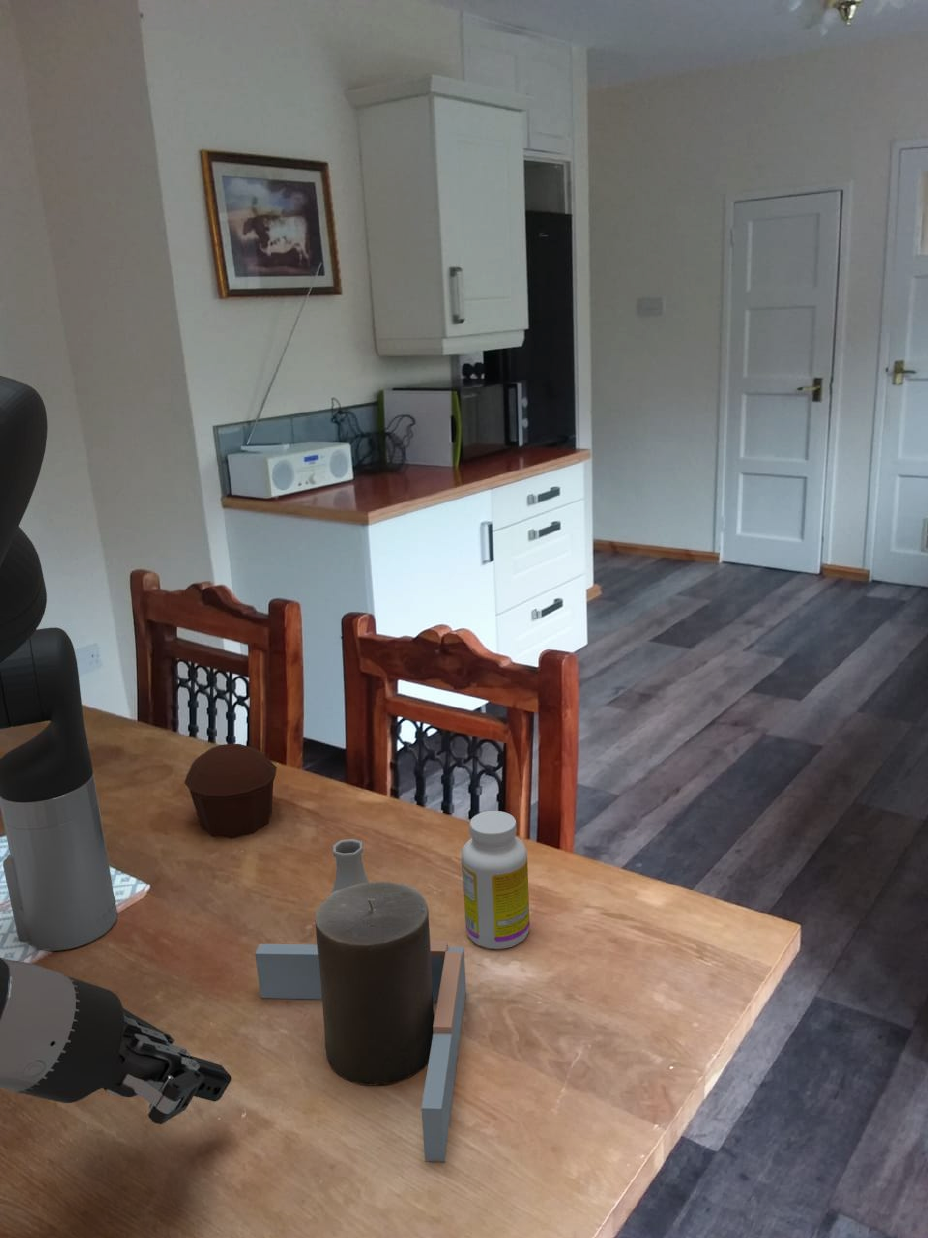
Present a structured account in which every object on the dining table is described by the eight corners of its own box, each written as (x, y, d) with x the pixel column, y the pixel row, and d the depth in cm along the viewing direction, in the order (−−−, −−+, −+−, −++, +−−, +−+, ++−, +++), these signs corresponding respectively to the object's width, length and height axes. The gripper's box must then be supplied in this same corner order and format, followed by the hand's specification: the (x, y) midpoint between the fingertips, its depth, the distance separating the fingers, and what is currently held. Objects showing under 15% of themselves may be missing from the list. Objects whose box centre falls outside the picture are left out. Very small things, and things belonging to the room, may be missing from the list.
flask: (378, 954, 99) (371, 868, 96) (310, 948, 101) (301, 862, 98) (397, 913, 106) (391, 830, 103) (333, 908, 108) (325, 826, 105)
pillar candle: (391, 1103, 80) (381, 946, 76) (302, 1058, 86) (288, 908, 81) (457, 1033, 88) (451, 886, 84) (372, 995, 93) (363, 855, 89)
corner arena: (195, 1152, 76) (186, 1094, 75) (265, 988, 95) (259, 938, 93) (444, 1162, 75) (440, 1102, 73) (465, 992, 93) (463, 941, 92)
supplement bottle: (539, 921, 103) (536, 812, 100) (515, 958, 98) (511, 844, 94) (481, 908, 106) (476, 801, 102) (454, 943, 101) (448, 831, 97)
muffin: (300, 813, 128) (292, 743, 125) (239, 852, 120) (229, 778, 117) (234, 793, 135) (226, 726, 132) (172, 829, 126) (161, 757, 123)
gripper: (103, 1029, 62) (291, 1086, 73) (35, 935, 71) (210, 998, 83) (31, 1142, 60) (234, 1183, 71) (-29, 1030, 70) (158, 1082, 81)
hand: (221, 1084), depth 77 cm, fingers closed
